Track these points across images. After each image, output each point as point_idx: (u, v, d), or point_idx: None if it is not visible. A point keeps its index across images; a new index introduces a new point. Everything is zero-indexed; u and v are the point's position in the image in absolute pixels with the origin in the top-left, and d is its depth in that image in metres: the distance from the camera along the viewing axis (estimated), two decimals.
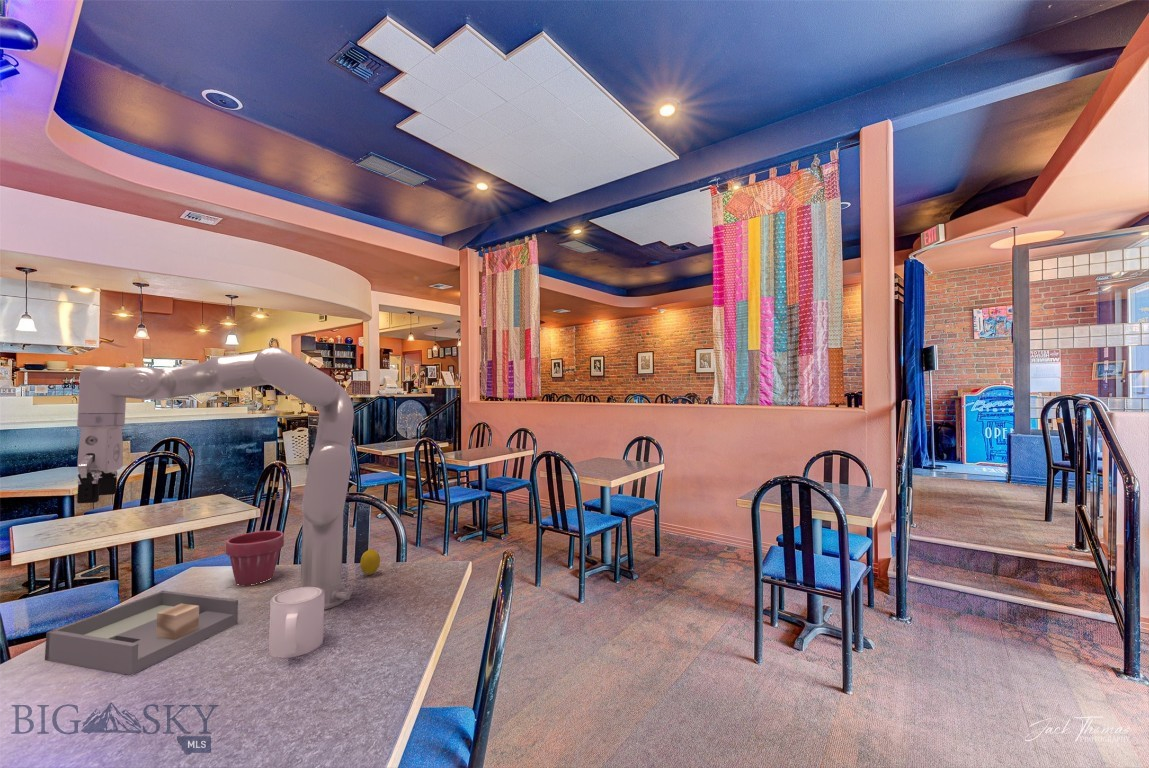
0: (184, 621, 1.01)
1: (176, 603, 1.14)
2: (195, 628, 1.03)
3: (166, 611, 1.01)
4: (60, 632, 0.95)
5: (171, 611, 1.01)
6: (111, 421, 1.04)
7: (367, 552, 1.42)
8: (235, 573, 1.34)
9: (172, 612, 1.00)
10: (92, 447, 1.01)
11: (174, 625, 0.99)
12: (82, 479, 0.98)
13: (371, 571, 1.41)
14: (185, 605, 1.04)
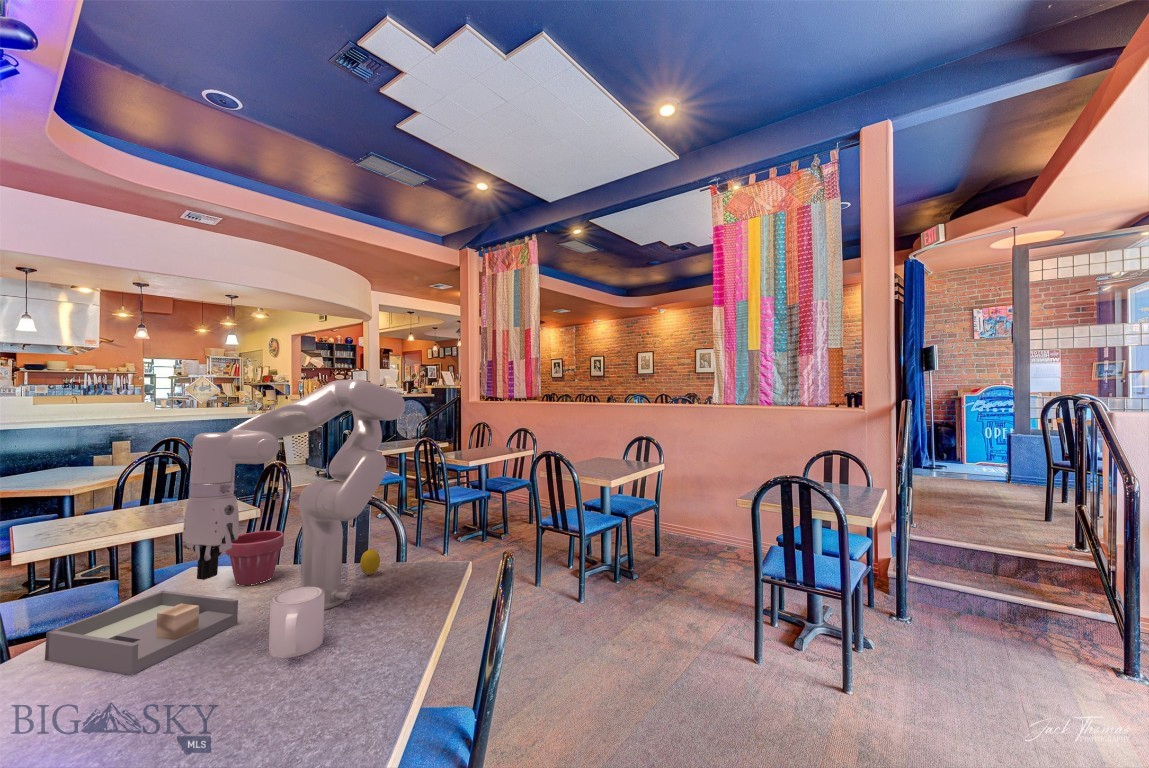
0: (184, 621, 1.01)
1: (176, 603, 1.14)
2: (195, 628, 1.03)
3: (166, 611, 1.01)
4: (60, 632, 0.95)
5: (171, 611, 1.01)
6: None
7: (367, 552, 1.42)
8: (235, 573, 1.34)
9: (172, 612, 1.00)
10: (230, 516, 1.00)
11: (174, 625, 0.99)
12: (216, 553, 0.99)
13: (371, 571, 1.41)
14: (185, 605, 1.04)
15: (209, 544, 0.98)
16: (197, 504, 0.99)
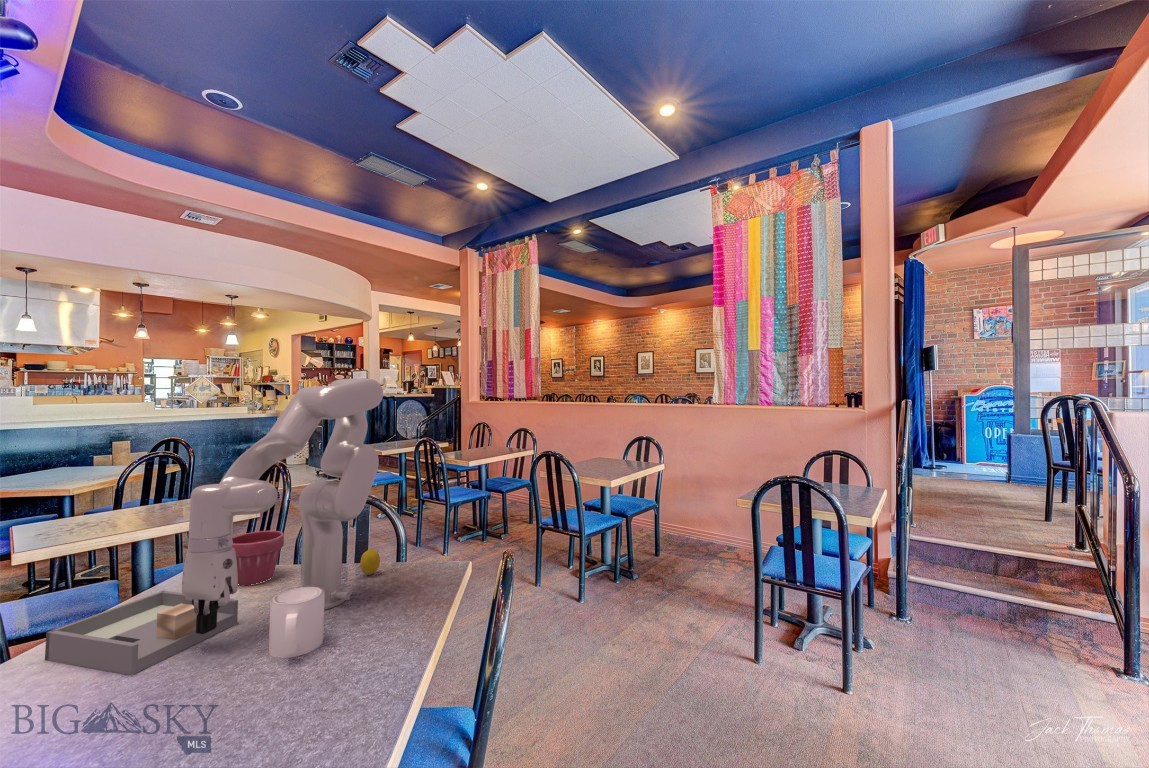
0: (184, 621, 1.01)
1: (176, 603, 1.14)
2: (195, 628, 1.03)
3: (166, 611, 1.01)
4: (60, 632, 0.95)
5: (171, 611, 1.01)
6: None
7: (367, 552, 1.42)
8: None
9: (172, 612, 1.00)
10: (229, 570, 0.99)
11: (174, 625, 0.99)
12: (215, 607, 0.99)
13: (371, 571, 1.41)
14: (185, 605, 1.04)
15: (208, 599, 0.98)
16: (195, 558, 0.98)
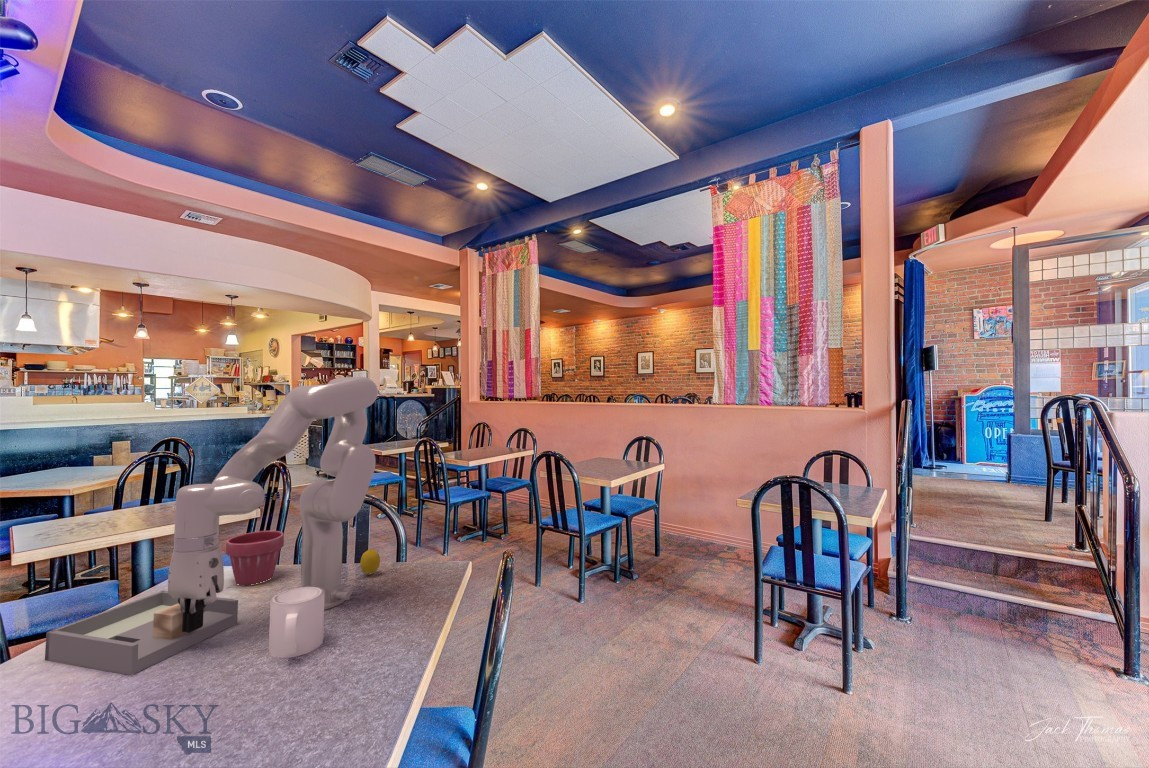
0: (181, 621, 1.01)
1: (176, 603, 1.14)
2: None
3: (163, 611, 1.01)
4: (60, 632, 0.95)
5: (167, 611, 1.01)
6: None
7: (367, 552, 1.42)
8: (235, 573, 1.34)
9: (169, 612, 1.00)
10: (215, 569, 1.00)
11: (171, 625, 0.99)
12: (201, 606, 1.00)
13: (371, 571, 1.41)
14: None
15: (194, 598, 0.98)
16: (181, 557, 0.99)
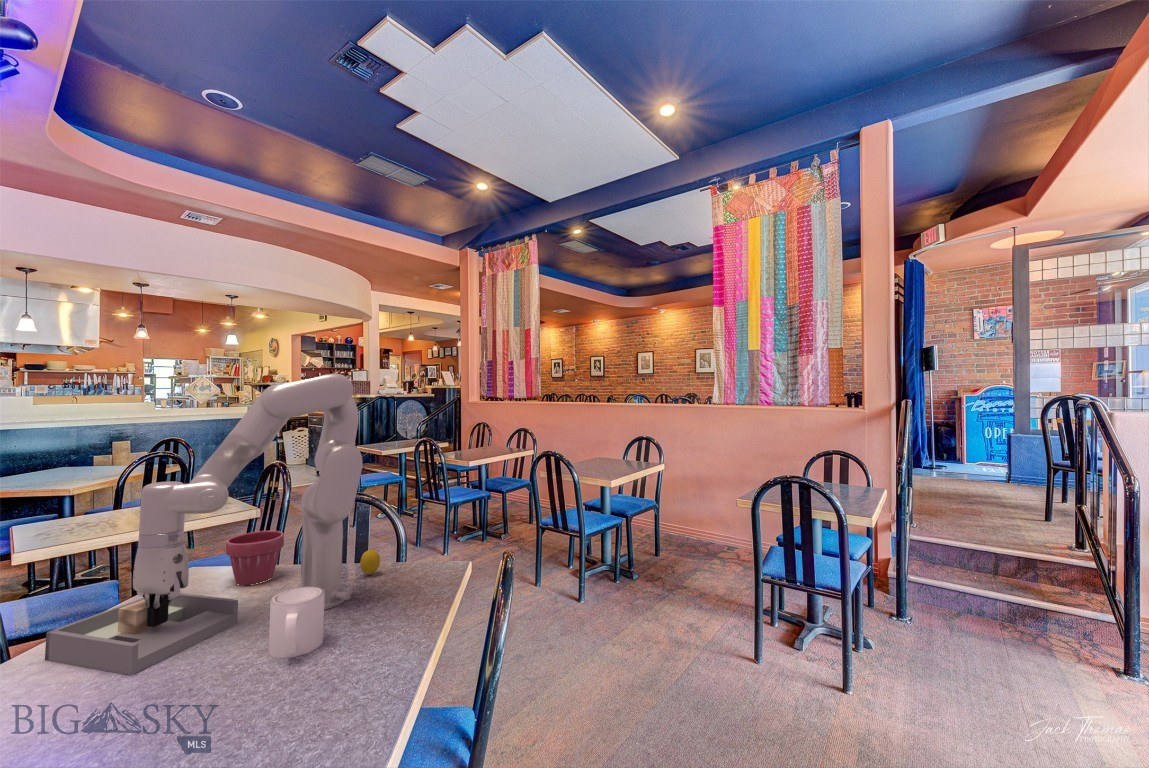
0: (146, 617, 1.03)
1: (176, 603, 1.14)
2: None
3: (128, 607, 1.03)
4: (60, 632, 0.95)
5: (132, 606, 1.03)
6: (183, 536, 1.05)
7: (367, 552, 1.42)
8: (235, 573, 1.34)
9: (134, 607, 1.02)
10: (179, 565, 1.02)
11: (135, 620, 1.01)
12: (165, 601, 1.02)
13: (371, 571, 1.41)
14: None
15: (158, 593, 1.01)
16: (145, 553, 1.01)
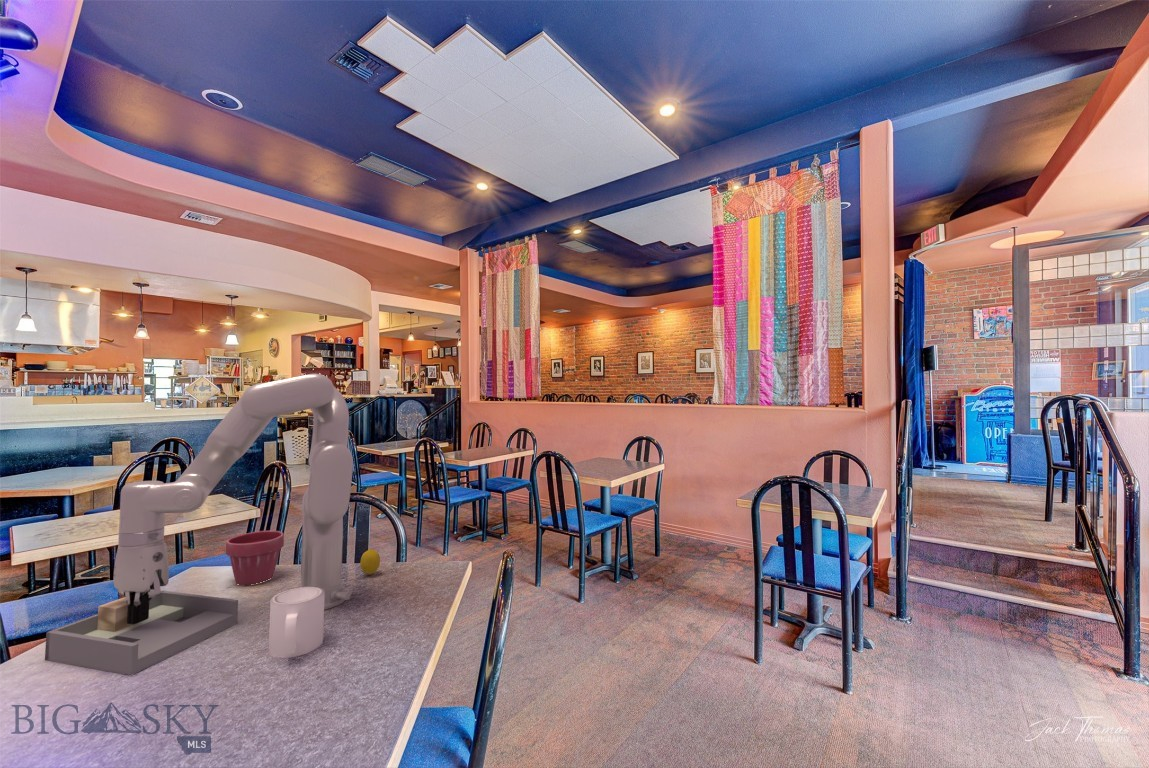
0: (125, 614, 1.04)
1: (176, 603, 1.14)
2: None
3: (108, 604, 1.04)
4: (60, 632, 0.95)
5: (112, 604, 1.04)
6: (163, 535, 1.07)
7: (367, 552, 1.42)
8: (235, 573, 1.34)
9: (114, 605, 1.03)
10: (159, 563, 1.04)
11: (114, 618, 1.02)
12: (145, 599, 1.03)
13: (371, 571, 1.41)
14: None
15: (138, 591, 1.02)
16: (125, 552, 1.02)
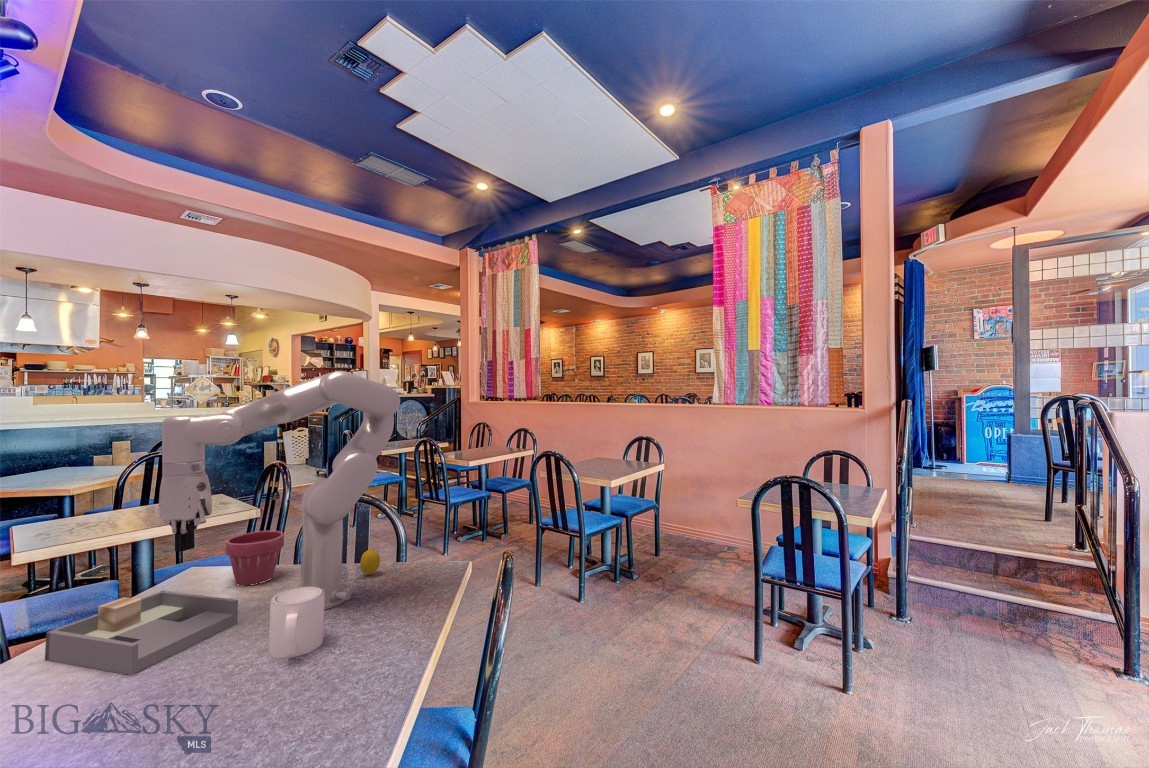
0: (125, 614, 1.04)
1: (176, 603, 1.14)
2: (137, 621, 1.06)
3: (107, 604, 1.04)
4: (60, 632, 0.95)
5: (112, 604, 1.04)
6: None
7: (367, 552, 1.42)
8: (235, 573, 1.34)
9: (114, 605, 1.03)
10: (203, 493, 1.07)
11: (114, 618, 1.02)
12: (191, 527, 1.07)
13: (371, 571, 1.41)
14: (128, 599, 1.07)
15: (184, 518, 1.05)
16: (170, 482, 1.06)
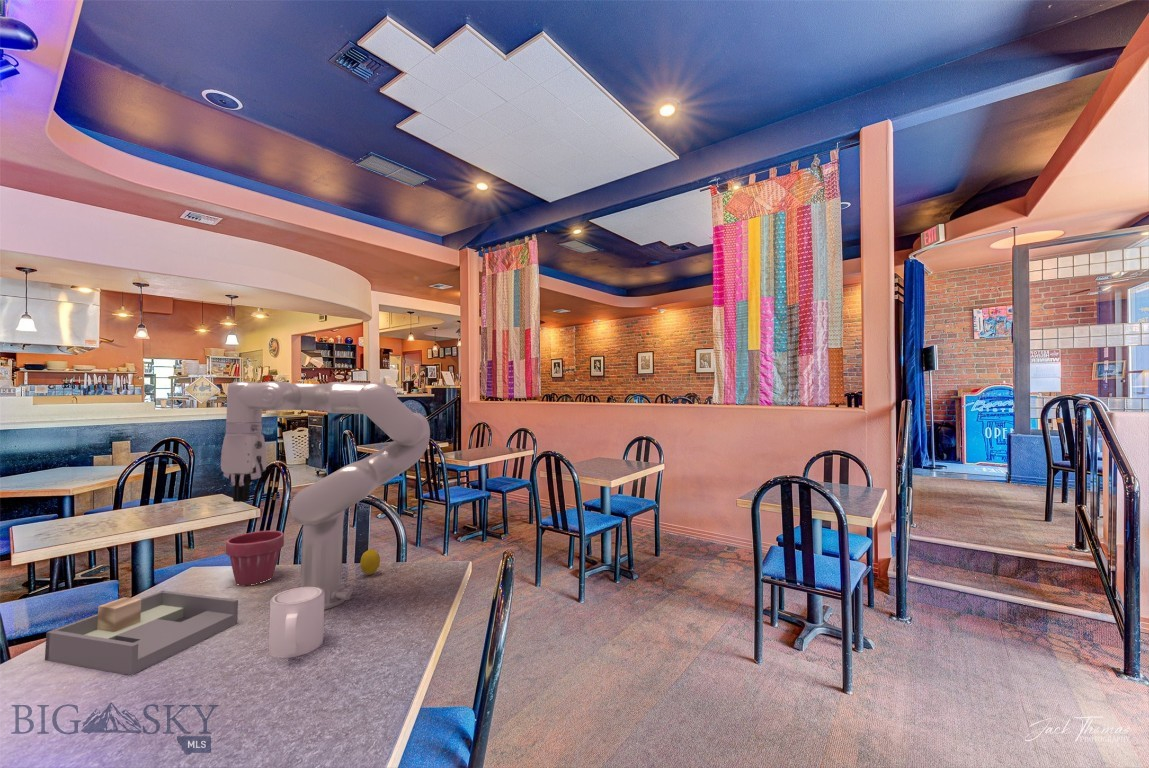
0: (125, 614, 1.04)
1: (176, 603, 1.14)
2: (137, 621, 1.06)
3: (107, 604, 1.04)
4: (60, 632, 0.95)
5: (112, 604, 1.04)
6: None
7: (367, 552, 1.42)
8: (235, 573, 1.34)
9: (114, 605, 1.03)
10: (259, 450, 1.21)
11: (114, 618, 1.02)
12: (248, 481, 1.20)
13: (371, 571, 1.41)
14: (128, 599, 1.07)
15: (243, 472, 1.19)
16: (232, 439, 1.20)
